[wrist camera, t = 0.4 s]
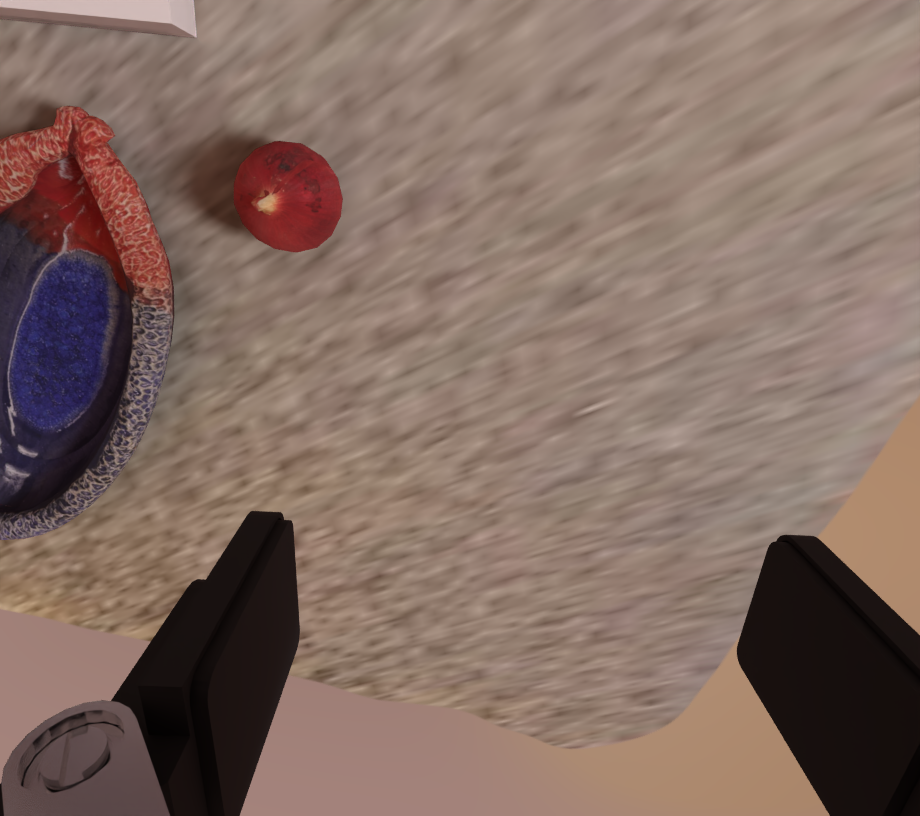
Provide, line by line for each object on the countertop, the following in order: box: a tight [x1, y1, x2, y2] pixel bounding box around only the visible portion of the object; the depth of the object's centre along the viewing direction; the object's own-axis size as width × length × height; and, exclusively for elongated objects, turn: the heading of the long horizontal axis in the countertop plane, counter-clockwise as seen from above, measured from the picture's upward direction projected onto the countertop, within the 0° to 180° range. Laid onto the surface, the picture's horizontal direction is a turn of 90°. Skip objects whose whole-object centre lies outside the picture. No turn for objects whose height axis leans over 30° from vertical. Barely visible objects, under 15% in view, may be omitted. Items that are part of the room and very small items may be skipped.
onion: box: [234, 141, 343, 252], centre depth 31 cm, size 6×6×8 cm
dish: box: [0, 106, 174, 540], centre depth 36 cm, size 16×31×5 cm, turn 148°
